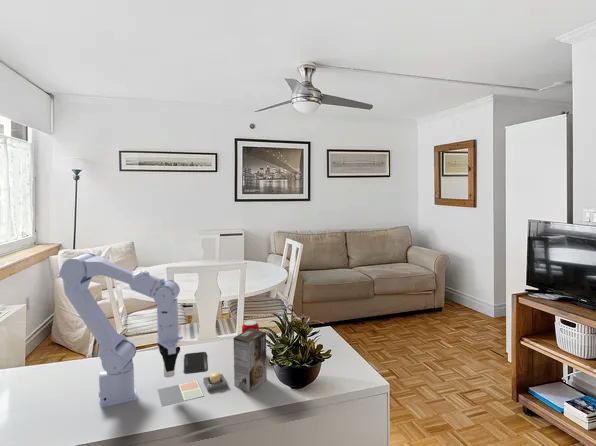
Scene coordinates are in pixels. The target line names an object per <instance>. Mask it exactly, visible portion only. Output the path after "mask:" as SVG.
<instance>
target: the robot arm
mask: <svg viewBox="0 0 596 446" xmlns="http://www.w3.org/2000/svg"><path fill="white" fill-rule="evenodd" d="M58 275H59V276H60V278H61V279H62V283H63V291H64V294H65V296H66V298H67V299H68V300H69V302H70V304H71V306H73V308H74V310H75V311H76V313H77V314H78V315H79V317H80V319H81V320H82V321H83V323H84V324H85V325H86V327H87V329H88V330H89V333H91V335H92V337H93V338H94V339H95V341H96V342H97V344H98V357H99V359H100V361H101V366H102V369H103V370H101V371H99V373H98V385H99V391H98V398H99V403H100V406H99V407H100V408H104V407H108V406H113V405H114V406H115V405H118V404H122V403H125V402H131V401H135V400H137V399H138V396H137V388H136V386H135V374H134V373H135V371H134V370H135V369H134V368H135V367H134V362H133V358H135V356H136V353H137V347H136V345H135V344H134V343H133V341H130V340H129V339H128V338H127V337H126V336H125V335H124V334H122V333H118V332H117V330H116V329H115V327H114V326H113V324H112V323H111V322H110V320H109V318H108V317H107V315H106V314H105V312H104V311H103V309H102V307H100V305H99V304H98V302H97V300H96V299H95V297H94V296H93V295H92V293H91V291H90V290H89V287H90V284H91V281H92V278H94V277H98V276H104V277H107V278H109V279H113V280H116V281H119V282H122V283H125V284H128V285H129V287H130V290H131V291H134V292H136V293H139V294H142V295H143V296H146V297H148V298H152V299H153V300H154V302H155V303H156V307H157V308H156V311H157V312H156V316H157V318H156V319H157V322H156V324H157V343H156V344H157V347H158V348H159V349H158V352H159V353H160V355H161V356H162V361H163V365H164V364H165V369H166V371H167V372H169V371H174V368H175V369H176V362H177V358H178V356H179V354H180V352H181V347H180V346H178V343H179V341H180V340H183V339H184V337H183V335H182V334H180V333H179V307H178V298H177V297H179V294H180V289H181V288H180V285H178V283H177V282H175V281H174V280H173V279H167V280H165V278H162V277H161V278H158V277H157V276H154V275H151V274H150V271H147V270H144V271H139V272H134V271H130V270H128V268H127V269H126V268H124V267H123V266H120V265H118V264H116V263H113V262H111V261H110V260H107V259H106V258H104V257H103V256H101V255H96V254H94V253H92V252H84V253H83V254H81V255H78V256H76V257H71V258H67V259H66V260H64V261H63V263H62V265H61V267H60V270H59V272H58ZM164 347H165V348H164Z"/></svg>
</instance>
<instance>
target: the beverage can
mask: <svg viewBox="0 0 596 446" xmlns="http://www.w3.org/2000/svg"><path fill="white" fill-rule="evenodd" d="M250 328H252V329H257V330H260V326H259V324H258V322H257V321H256V320H246V321H244V322H243V324H242V326H241V333H243V332H245V331H247V330H248V329H250ZM258 328H259V329H258Z"/></svg>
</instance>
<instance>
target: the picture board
mask: <svg viewBox="0 0 596 446" xmlns="http://www.w3.org/2000/svg"><path fill="white" fill-rule="evenodd" d="M157 392H158V397H159V401H160V406H161V407H165V406H170V405H174V404H179V403H183V402H187V401H191V400H195V399H199V398H203V397H205V394H204V393H203V392H204V391H203V390H202V388H201V385H200V383H199V381H198V380H194V381H189V382H185V383H180V384H176V385H172V386H171V385H170V386H167V387H162V388H158V389H157Z"/></svg>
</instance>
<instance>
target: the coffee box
mask: <svg viewBox="0 0 596 446" xmlns="http://www.w3.org/2000/svg"><path fill="white" fill-rule="evenodd" d="M233 370H234V371H233V376H234V377H233V378H234V379H233V381H234V382H233V384H234V385H233V386H234V387H238V388H240V389H241V390H243V391H245V392H247V393H250V392H252V391H253V390H255V389H256V388H257V387H259V386H260V385H261V384H263V383H264V382H265V381H267V332H266V331H262V330H260V329H259V330H256V329H252V328H250V329H248V330H247V331H245V332H243V333H242V332H241V333H239V334H238V335H236V336H234V337H233Z"/></svg>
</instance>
